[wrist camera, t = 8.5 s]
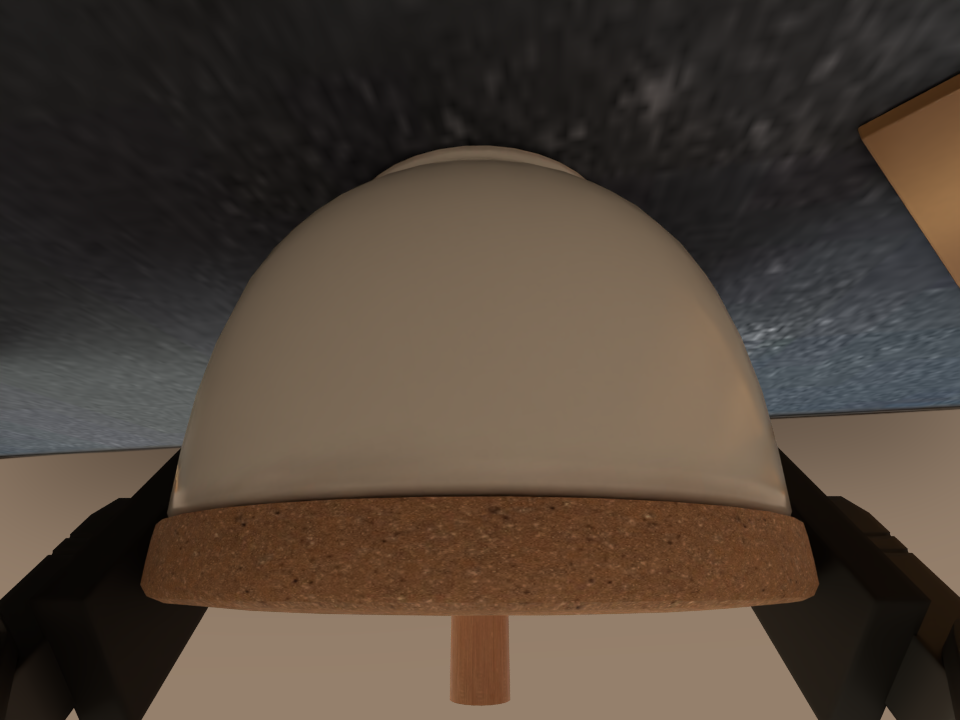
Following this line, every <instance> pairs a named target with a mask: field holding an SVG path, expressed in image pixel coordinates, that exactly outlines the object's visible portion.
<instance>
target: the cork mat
mask: <svg viewBox="0 0 960 720" xmlns="http://www.w3.org/2000/svg"><path fill="white" fill-rule="evenodd" d="M858 132H859V134H860V137H861V140H862V141H863V143H864V144H865V146H866V147H867V149H868V150H869V152H870V153H871V155H872V156H873V158H874V159H875V161H876V162H877V164H878V165H879V167H880V168H881V170H882V171H883V173H884V174H885V176H886V177H887V179H888V181H889V182H890V184H891V185H892V187H893V188H894V190H895V191H896V193H897V194H898V196H899V197H900V199H901V200H902V202H903V203H904V205H905V206H906V208H907V209H908V211H909V212H910V214H911V215H912V217H913V218H914V220H915V221H916V223H917V224H918V226H919V227H920V229H921V231H922V232H923V234H924V235H925V237H926V238H927V240H928V241H929V243H930V244H931V246H932V247H933V249H934V250H935V252H936V253H937V255H938V256H939V258H940V259H941V261H942V262H943V264H944V265H945V267H946V268H947V270H948V271H949V273H950V274H951V276H952V277H953V279H954V281H955V282H956V284H957V285H958V287H959V288H960V74H958V75H956V76H954V77H952V78H951V79H949V80H947V81H945V82H943V83H941V84H939V85H937V86H936V87H934V88H932V89H930V90H928V91H926V92H924V93H922V94H921V95H919V96H917V97H915V98H913V99H911V100H909V101H907V102H905V103H904V104H902V105H900V106H898V107H896V108H894V109H892V110H890V111H889V112H887V113H885V114H883V115H881V116H879V117H877V118H875V119H874V120H872V121H870V122H868V123H866V124H864V125H862V126H860V127H859V128H858Z"/></svg>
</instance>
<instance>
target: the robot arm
mask: <svg viewBox="0 0 960 720" xmlns="http://www.w3.org/2000/svg"><path fill="white" fill-rule="evenodd" d="M778 451H779V455H780V460H781V464H782V469H783V473H784V478H785V482H786V487H787V491H788V496H789V500H790V505H791V509H792V513H791V517H794V518H796V519H798V520H799V521H801V522H803V523H804V526H805V529H806V532H807V535H808V539H809V543H810V547H811V550H812V554H813V558H814V562H815V567H816V572H817V576H818V581H819V585H818V588H817V590H816V592H815V595H814V596H812V597H810V598H807V599H805V600H803V601H798V602H791V603H781V604H771V605H760V606H751V607H752V609H753V611H754V612H755V614H756V616H757V617H758V619H759V621H760V622H761V624H762V626H763V628H764V629H765V631H766V633H767V634H768V636H769V638H770V639H771V641H772V643H773V644H774V646H775V648H776V649H777V651H778V653H779V654H780V656H781V658H782V660H783V661H784V663H785V665H786V666H787V668H788V670H789V671H790V673H791V675H792V676H793V678H794V680H795V681H796V683H797V685H798V687H799V688H800V690H801V692H802V693H803V695H804V697H805V698H806V700H807V702H808V703H809V705H810V707H811V708H812V710H813V712H814V713H815V715H816V717H817V718H818V720H880V719H881V717H882V715H883V712H884V710H885V708H886V706H887V707H888V709H889V710H890V711H891V713H892V714H893V716H894V717H895V718H896V720H960V597H959V596H958V595H957V594H956V593H954V592H953V591H952V590H951V589H950V588H949V587H948V586H947V585H946V584H945V583H944V582H943V581H942V580H940V578H938V577H937V576H936V575H935V574H934V573H933V572H932V571H931V570H930V569H929V568H928V567H927V566H926V565H925V564H923V563H922V562H921V561H920V560H919V559H918V558H917V557H916V556H915V555H914V554H913V553H908V549H907V548H906V547H905V546H904V545H903V544H902V543H901V542H900V541H899V540H898V539H897V538H895V537H894V536H891V535H890V532H889V531H888V530H887V529H886V528H885V527H884V526H883V525H882V524H881V523H879V522H878V521H877V520H876V519H875V518H874V517H873V516H872V515H871V514H870V513H869V512H867V511H865V510H863V509H862V508H860V507H858V506H857V505H855V504H853V503H852V502H850V501H848V500H846V499H845V498H843V497H841V496H826V495H825V494H824V493H823V492H822V491H821V490H820V489H819V488H818V487H817V486H816V485H815V484H814V483H813V482H812V481H811V480H810V479H809V478H808V477H807V476H806V475H805V474H804V473H803V472H802V471H801V470H800V469H799V468H798V467H797V466H796V465H795V464H794V463H793V462H792V461H791V460H790V459H789V458H788V457H787V456H786V455H785V454H784V453H783V452H782V451H781V450H780V449H779V448H778ZM180 452H181V449H180V450H179V451H178V452H177V453H176V454H175V455H174V456H173V457H172V458H171V459H170V460H169V461H168V462H167V463H166V464H165V465H164V466H163V467H162V468H161V469H160V470H159V471H158V472H157V473H156V474H155V475H154V476H153V477H152V478H151V479H150V480H149V481H148V482H147V483H146V484H145V485H143V486H142V488H140V489H139V491H137V493H135V494H134V495H133V496H132V497H131V498H118V499H117V500H115V501H113V502H112V503H110V504H108V505H106V506H105V507H103V508H101V509H100V510H98V511H96V512H95V513H93V514H91V515H90V516H89V517H88V518H87V519H86V520H85V521H84V522H83V523H82V524H81V525H80V526H78V527H77V528H76V529H75V530H74V531H73V532H72V533H71V534H70V538H66V539H65V540H64V541H63V542H61V543H60V544H59V545H58V546H57V547H56V548H55V549H54V550H53V553H52V555H48V556H46V557H45V558H44V559H43V560H42V561H41V562H40V563H39V564H38V565H37V566H36V567H35V568H34V569H33V570H32V571H31V572H29V573H28V574H27V575H26V576H25V577H24V578H23V579H22V580H21V581H20V582H19V583H18V584H17V585H16V586H15V587H13V588H12V589H11V590H10V591H9V592H8V593H7V594H6V595H5V596H4V597H3V598H2V599H1V600H0V720H65V719H66V718H67V717H68V715H69V714H70V713H71V711H72V710H73V708H74V709H75V711H76V713H77V716H78V718H79V720H142V718H143V716H144V715H145V713H146V711H147V709H148V708H149V706H150V704H151V703H152V701H153V699H154V698H155V696H156V694H157V693H158V691H159V689H160V688H161V686H162V684H163V683H164V681H165V679H166V677H167V676H168V674H169V672H170V671H171V669H172V667H173V666H174V664H175V662H176V661H177V659H178V657H179V656H180V654H181V652H182V651H183V649H184V647H185V645H186V644H187V642H188V640H189V639H190V637H191V635H192V634H193V632H194V630H195V629H196V627H197V625H198V624H199V622H200V620H201V619H202V617H203V615H204V613H205V612H206V610H207V608H208V607H204V606H193V605H181V604H169V603H162V602H160V601H158V600H155V599H153V598H150V597H148V596H146V594H145V593H144V591H143V589H142V587H141V585H140V584H141V579H142V575H143V570H144V565H145V561H146V557H147V553H148V549H149V545H150V541H151V537H152V534H153V531H154V528H155V526H156V524H157V523H158V522H160V521H161V520H162V519H165V518H168V515H167V511H168V506H169V502H170V497H171V492H172V488H173V483H174V479H175V474H176V470H177V465H178V461H179V456H180Z"/></svg>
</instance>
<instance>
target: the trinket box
mask: <svg viewBox="0 0 960 720" xmlns="http://www.w3.org/2000/svg"><path fill="white" fill-rule="evenodd" d="M791 513H792V509H791V505H790V500H789V496H788V491H787V487H786V482H785V478H784V473H783V469H782V464H781V460H780V455H779V451H778V446H777V443H776V439H775V436H774V432H773V428H772V425H771V421H770V418H769V414H768V410H767V407H766V403H765V400H764V396H763V392H762V389H761V387H760V384H759V382H758V379H757V377H756V374H755V371H754V369H753V366H752V364H751V361H750V359H749V356H748V353H747V351H746V348H745V346H744V343H743V341H742V338H741V336H740V334H739V332H738V330H737V328H736V326H735V325H734V323H733V321H732V319H731V317H730V315H729V313H728V311H727V309H726V308H725V306H724V304H723V302H722V300H721V298H720V296H719V294H718V293H717V291H716V289H715V288H714V286H713V285H712V283H711V282H710V280H709V279H708V277H707V276H706V274H705V273H704V272H703V270H702V269H701V268H700V267H699V265H698V264H697V263H696V262H695V260H694V259H693V258H692V257H691V255H690V254H689V253H688V252H687V250H686V249H685V248H684V246H683V245H682V244H681V243H680V242H679V241H678V240H677V239H676V238H674V237H673V236H672V235H671V234H670V233H669V232H668V231H666V230H665V229H664V228H663V227H662V226H661V225H660V224H658V223H657V222H656V221H655V220H653V219H652V218H651V217H650V216H649V215H647V214H646V213H645V212H644V211H643V210H641V209H640V208H639V207H638V206H636V205H634V204H633V203H631V202H629V201H627V200H626V199H624V198H622V197H620V196H619V195H617V194H615V193H613V192H612V191H610V190H608V189H606V188H604V187H602V186H599V185H597V184H595V183H593V182H591V181H588V180H586V179H584V178H583V177H582V176H581V175H580V174H578V173H577V172H576V171H574V170H572V169H570V168H569V167H567V166H565V165H563V164H562V163H560V162H558V161H555V160H553V159H550V158H547V157H545V156H542V155H540V154H536V153H532V152H528V151H524V150H519V149H515V148H507V147H498V146H460V147H453V148H446V149H439V150H435V151H431V152H427V153H424V154H420V155H416V156H414V157H411V158H409V159H407V160H404V161H402V162H400V163H397V164H395V165H394V166H392V167H390V168H389V169H387V170H386V171H384V172H382V173H381V174H379V175H378V176H377V177H376V178H375V179H374V180H372V181H370V182H367V183H365V184H362V185H360V186H358V187H356V188H354V189H352V190H350V191H348V192H346V193H343V194H341V195H340V196H338V197H337V198H335V199H334V200H332V201H330V202H329V203H327V204H326V205H324V206H323V207H321V208H319V209H318V210H316V211H315V212H314V213H313V214H311V215H310V216H309V217H308V218H307V219H305V220H304V221H303V222H302V223H301V224H299V225H298V226H297V227H296V228H294V229H293V230H292V231H291V232H290V233H289V234H288V235H287V236H286V237H285V238H284V239H283V240H282V241H281V242H280V243H279V244H278V245H277V246H276V247H275V248H274V249H273V250H272V252H271V253H270V254H269V256H268V257H267V258H266V259H265V261H264V262H263V263H262V264H261V266H260V267H259V268H258V269H257V271H256V272H255V273H254V274H253V276H252V277H251V278H250V280H249V282H248V284H247V285H246V287H245V289H244V291H243V293H242V295H241V296H240V298H239V300H238V302H237V304H236V306H235V308H234V310H233V312H232V313H231V315H230V317H229V319H228V321H227V323H226V325H225V327H224V329H223V331H222V333H221V334H220V336H219V338H218V340H217V342H216V345H215V347H214V350H213V352H212V355H211V358H210V360H209V363H208V365H207V368H206V371H205V373H204V376H203V378H202V381H201V383H200V386H199V389H198V391H197V394H196V397H195V401H194V404H193V408H192V411H191V415H190V419H189V422H188V426H187V430H186V433H185V437H184V440H183V444H182V448H181V452H180V456H179V461H178V465H177V470H176V474H175V479H174V483H173V488H172V492H171V497H170V502H169V506H168V511H167V515H168V518H165V519H162V520H161V521H160V522H158V523H157V524H156V526H155V528H154V531H153V534H152V537H151V541H150V545H149V549H148V553H147V557H146V561H145V565H144V570H143V575H142V579H141V584H140V585H141V587H142V589H143V591H144V593H145V594H146V596H148V597H150V598H153V599H155V600H158V601H160V602H162V603H169V604H181V605H193V606H204V607H216V608H227V609H238V610H249V611H269V612H290V613H316V614H362V615H434V616H451V669H450V700H451V701H452V702H455V703H458V704H464V705H480V706H483V705H495V704H502V703H505V702H508V701H509V700H510V670H509V621H508V615H586V614H626V613H661V612H682V611H699V610H714V609H728V608H738V607H749V606H760V605H771V604H781V603H791V602H798V601H803V600H805V599H807V598H810V597H812V596H814V595H815V592H816V590H817V588H818V585H819V581H818V576H817V572H816V567H815V562H814V558H813V554H812V550H811V547H810V543H809V539H808V535H807V532H806V529H805V526H804V523H803V522H801V521H799V520H798V519H796V518H794V517H791Z"/></svg>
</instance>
